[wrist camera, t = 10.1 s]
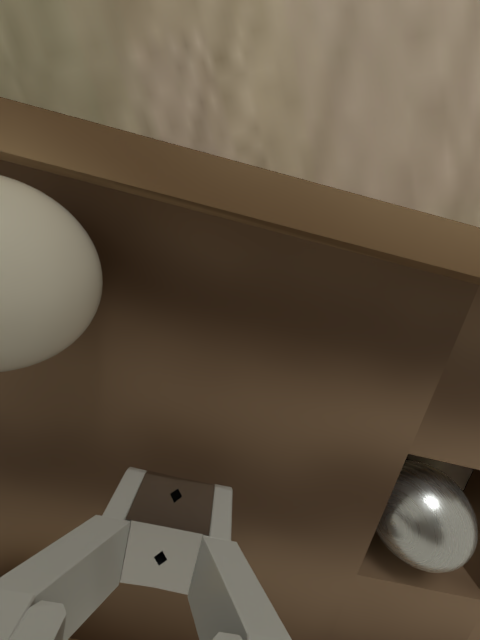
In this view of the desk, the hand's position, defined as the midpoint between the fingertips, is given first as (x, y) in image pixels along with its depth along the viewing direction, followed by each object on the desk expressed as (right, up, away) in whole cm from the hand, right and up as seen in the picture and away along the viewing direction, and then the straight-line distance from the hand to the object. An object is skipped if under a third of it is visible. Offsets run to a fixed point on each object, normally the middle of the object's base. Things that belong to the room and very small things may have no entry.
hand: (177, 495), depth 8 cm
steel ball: (+8, -2, +2) cm, 9 cm away
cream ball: (-3, +6, -2) cm, 7 cm away
